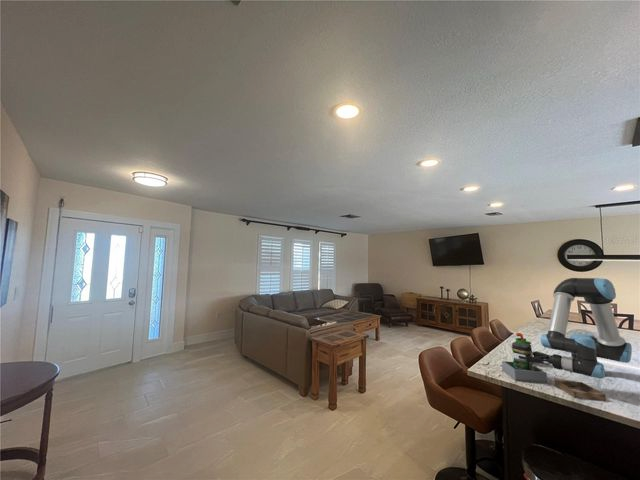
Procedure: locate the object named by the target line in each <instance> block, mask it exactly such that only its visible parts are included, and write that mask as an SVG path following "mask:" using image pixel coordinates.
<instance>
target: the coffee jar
mask: <svg viewBox="0 0 640 480" xmlns="http://www.w3.org/2000/svg"><path fill="white" fill-rule="evenodd" d="M530 345H531V344H530ZM530 345H528V344H524V343H518V342H516V341H514V342H512V343H511V350H512V353H517V354H521V355H527V356H531V354H532V351H533V350H532V349H531V348H532V345H531V346H530ZM512 362H513V368H514V369H517V370H529V371H533V367H532V363H531V362H526V360H521V359H517V358H513V361H512Z"/></svg>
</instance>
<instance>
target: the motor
mask: <svg viewBox="0 0 640 480" xmlns="http://www.w3.org/2000/svg"><path fill="white" fill-rule="evenodd" d="M515 333H516V337H517V338H515V342H518V343H524V344H528V345H530V346H531V349H532V345H531V344H532V342H530V341H527V338H524V335H523V334H522V333H520V332H515ZM531 357H533V356H531ZM532 364H533V365H534V363H532Z"/></svg>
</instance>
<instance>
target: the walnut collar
mask: <svg viewBox="0 0 640 480" xmlns="http://www.w3.org/2000/svg"><path fill="white" fill-rule="evenodd" d="M553 383H554V386H555V387H556V388H558V389H560V390H561V391H563V392H565V393H566V394H568V395H569V396H571V397H573V398H574V399H579V400H580V399H584V400H591V401H601V402H606V401H607V397H606V394H605V393H603V392H602V391H600V390H597V389H595V388H593V387H592V386H590V385H588V384H586V383H584V382H582V381H574V380H573V381H572V380H563V379H562V380H561V379H554V380H553ZM573 388H574V389H581V390H584V391H580V390H574V389H573Z"/></svg>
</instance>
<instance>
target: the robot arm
mask: <svg viewBox="0 0 640 480" xmlns="http://www.w3.org/2000/svg"><path fill="white" fill-rule="evenodd" d="M552 293H553V294H552V297H553V298H554V299H553V300H554V301H553V305H552V310H551V314H550V315H551V316H550V319H549V325H548V329H547V333H542V334H541V336H540V343H541V345H542V346H543V347H544V348H547V349H550V350H557V351H561V352H565V353H570V355H571V356H566V355H563V356H562V355H560V354H556V353H554V354H552V355H551V354H547V353H544V352H540V351H538V350H537V351H536V350H535V351H533V350H532V354H531V356H532V357H531V356H527V355H521V354H517V353H513V352H512V358H513V359H514V358H517V359H521V360H526V362H531V363H533V364H540V365H545V366H549V365H552V367H553V369H557V370H561V371H566V372H569V373H570V374H572V373H575V374H579V375H583V376H587V377H591V378H595V379H596V378H597V379H604V378H605V377H606V375H605V374H606V371H605V370H606V369H605V365H604V364H603V363H602V362H600V361H598V358H599V359H604V360H605V359H606V360H609V361H614V362H618V363H625V364H626V363H630V361H631V360H632V351H633V350H632V347H633V346H632V344H631V343H630V342H626V339H625V338H624V337H623V336H621V335H620V332H619V329H618V325H617V321H616V318H615V316H614V312H613V309H612V306H611V303H613V301H614V300H615V299H616V297H617V294H616V289H615V286H614V285H613V282H612V281H610V279H607V278H602V277H601V278H599V277H569V278H567V279H565V280H562V281H561V282H559V283H558V285H556V287H555V289H554V290H553V292H552ZM575 298H583V300H584V302H585V303H586V304H587V303H588V304H589V307H590V310H591V314H592V317H593V320H594V324H595V326H596V329H597V333H598V335H597V336H596V337H595V335H594V334H591V333H571V334H570V335H569V337H566V334H567V327H568V322H569V317H570V310H571V306H572V302H574V301H575Z"/></svg>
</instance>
